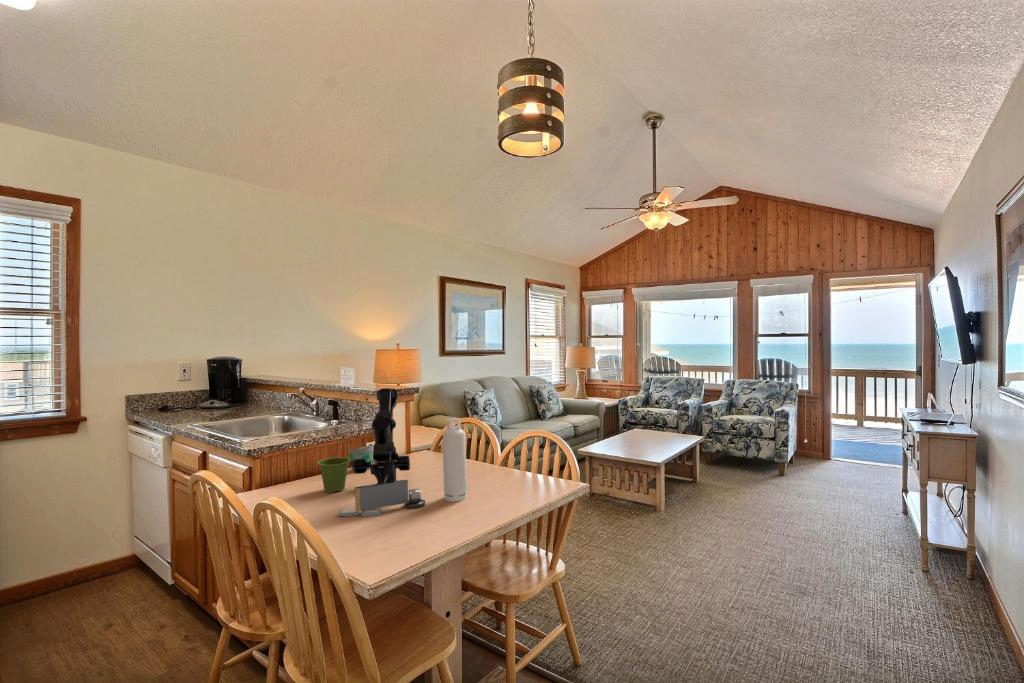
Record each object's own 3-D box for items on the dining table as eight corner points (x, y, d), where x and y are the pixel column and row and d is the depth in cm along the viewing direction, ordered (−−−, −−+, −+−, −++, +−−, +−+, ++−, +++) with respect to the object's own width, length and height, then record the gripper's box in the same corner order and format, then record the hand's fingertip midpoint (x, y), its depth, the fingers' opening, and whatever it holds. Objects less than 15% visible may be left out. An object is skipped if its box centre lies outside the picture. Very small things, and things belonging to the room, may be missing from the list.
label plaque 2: (362, 512, 164) (362, 509, 164) (381, 511, 165) (381, 507, 165) (361, 516, 160) (360, 513, 160) (380, 515, 161) (380, 511, 161)
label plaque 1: (340, 513, 164) (340, 509, 164) (359, 511, 165) (359, 508, 165) (338, 517, 160) (338, 513, 160) (358, 515, 161) (357, 512, 161)
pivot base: (413, 500, 175) (413, 497, 175) (429, 503, 172) (429, 500, 172) (400, 506, 169) (400, 503, 169) (416, 509, 166) (416, 506, 166)
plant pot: (313, 495, 184) (312, 465, 184) (324, 486, 196) (324, 457, 196) (345, 494, 184) (344, 464, 184) (355, 485, 196) (354, 456, 196)
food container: (358, 473, 213) (357, 450, 213) (348, 471, 217) (348, 448, 217) (380, 467, 224) (379, 444, 224) (371, 465, 227) (370, 443, 227)
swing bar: (418, 498, 173) (418, 476, 173) (422, 501, 169) (421, 479, 169) (354, 509, 163) (354, 486, 163) (356, 513, 160) (356, 489, 159)
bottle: (444, 502, 172) (442, 421, 172) (443, 495, 180) (442, 418, 180) (467, 500, 174) (465, 420, 174) (466, 493, 182) (464, 417, 182)
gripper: (352, 435, 170) (349, 476, 159) (408, 432, 173) (408, 472, 162) (356, 453, 178) (353, 493, 167) (409, 450, 181) (409, 489, 170)
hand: (381, 486), depth 166 cm, fingers closed
